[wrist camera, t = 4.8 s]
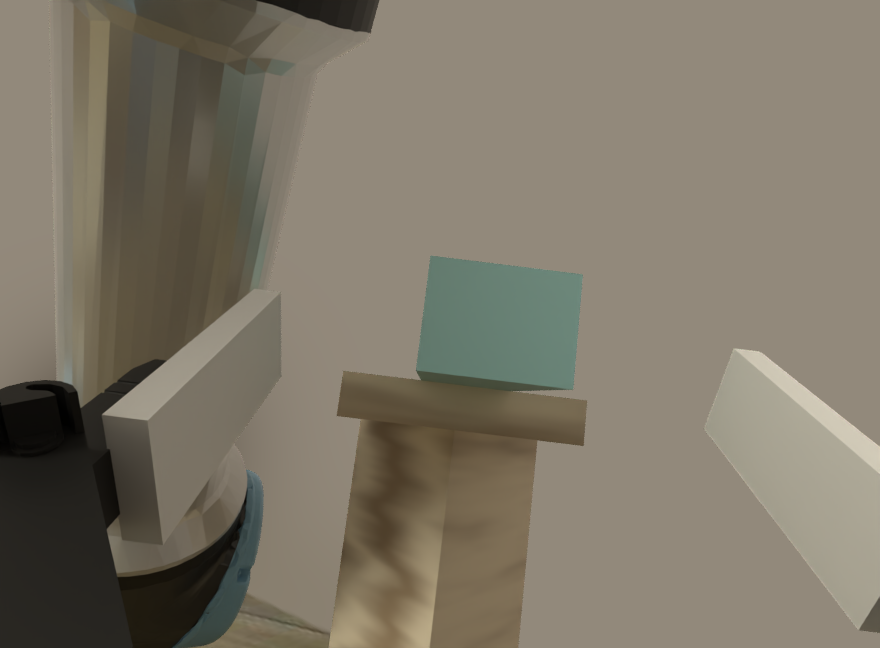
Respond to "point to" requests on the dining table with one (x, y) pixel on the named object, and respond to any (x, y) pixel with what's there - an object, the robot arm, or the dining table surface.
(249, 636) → the dining table surface
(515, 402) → the stand
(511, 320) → the bar
